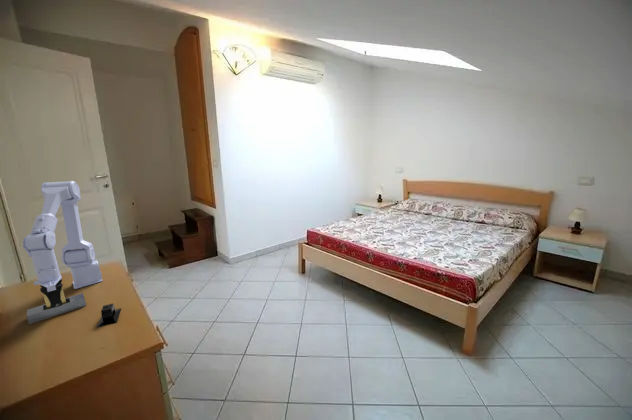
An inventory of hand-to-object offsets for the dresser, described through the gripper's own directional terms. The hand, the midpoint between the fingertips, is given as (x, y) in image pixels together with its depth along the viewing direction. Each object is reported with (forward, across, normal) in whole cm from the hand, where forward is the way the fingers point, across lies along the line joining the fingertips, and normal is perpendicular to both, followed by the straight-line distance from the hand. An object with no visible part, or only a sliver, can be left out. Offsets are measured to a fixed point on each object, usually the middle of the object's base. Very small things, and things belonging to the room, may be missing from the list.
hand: (56, 302), depth 99 cm
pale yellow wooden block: (+2, 0, 0) cm, 2 cm away
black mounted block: (+4, +18, +12) cm, 22 cm away
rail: (+4, 0, 0) cm, 4 cm away
